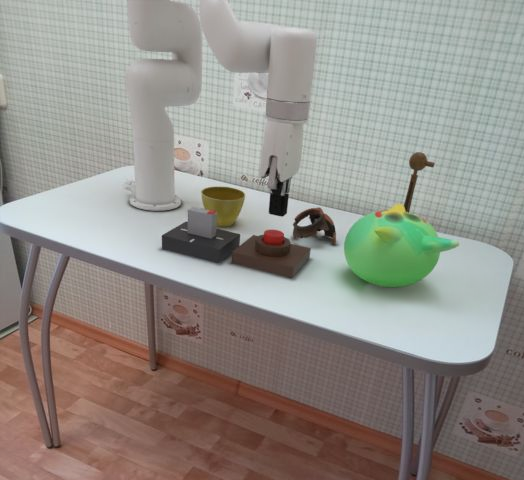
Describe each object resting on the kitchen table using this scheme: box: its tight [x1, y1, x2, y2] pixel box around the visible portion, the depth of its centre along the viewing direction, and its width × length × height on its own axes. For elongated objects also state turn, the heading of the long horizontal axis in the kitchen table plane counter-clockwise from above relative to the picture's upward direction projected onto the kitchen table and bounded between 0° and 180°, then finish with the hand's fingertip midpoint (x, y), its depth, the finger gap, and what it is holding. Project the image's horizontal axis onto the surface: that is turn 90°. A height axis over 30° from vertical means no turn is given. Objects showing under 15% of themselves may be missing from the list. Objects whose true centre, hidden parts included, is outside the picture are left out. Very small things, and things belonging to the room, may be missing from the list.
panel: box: [161, 220, 241, 264], centre depth 106 cm, size 13×10×3 cm
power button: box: [263, 229, 285, 245], centre depth 102 cm, size 4×4×2 cm
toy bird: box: [343, 203, 460, 288], centre depth 97 cm, size 18×17×15 cm
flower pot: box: [200, 185, 246, 228], centre depth 119 cm, size 10×10×7 cm
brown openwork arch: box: [292, 207, 337, 246], centre depth 116 cm, size 12×10×8 cm
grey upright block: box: [187, 206, 217, 239], centre depth 104 cm, size 6×2×5 cm, turn 68°
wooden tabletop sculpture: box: [403, 151, 435, 213], centre depth 116 cm, size 6×5×20 cm
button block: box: [230, 234, 312, 279], centre depth 103 cm, size 13×11×4 cm
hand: (277, 214), depth 99 cm, fingers closed
